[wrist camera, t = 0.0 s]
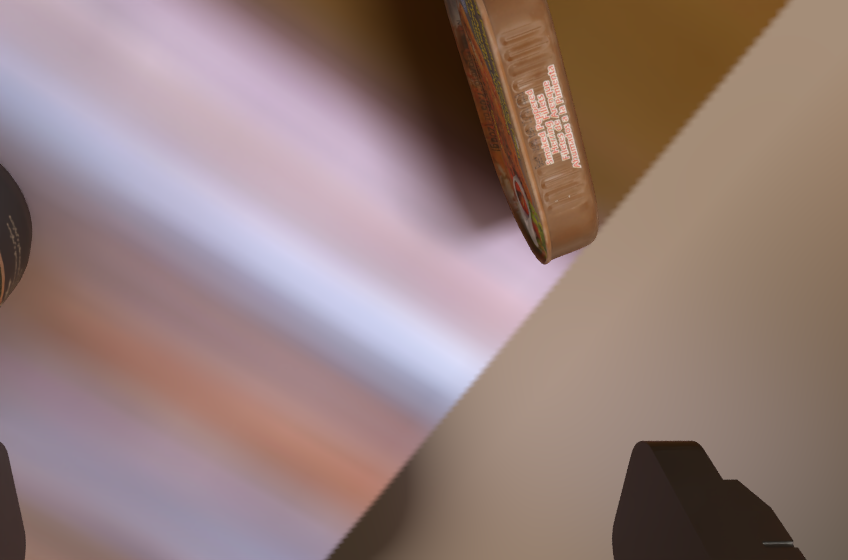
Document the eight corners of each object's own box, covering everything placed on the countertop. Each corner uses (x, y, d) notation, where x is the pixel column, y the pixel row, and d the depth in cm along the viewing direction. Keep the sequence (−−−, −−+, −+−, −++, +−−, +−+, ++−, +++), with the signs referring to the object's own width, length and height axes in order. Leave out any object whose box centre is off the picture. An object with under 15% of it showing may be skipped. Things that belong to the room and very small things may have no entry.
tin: (420, -74, 34) (443, -58, 27) (489, -99, 34) (531, -91, 26) (510, 222, 41) (548, 300, 34) (567, 203, 41) (618, 277, 33)
